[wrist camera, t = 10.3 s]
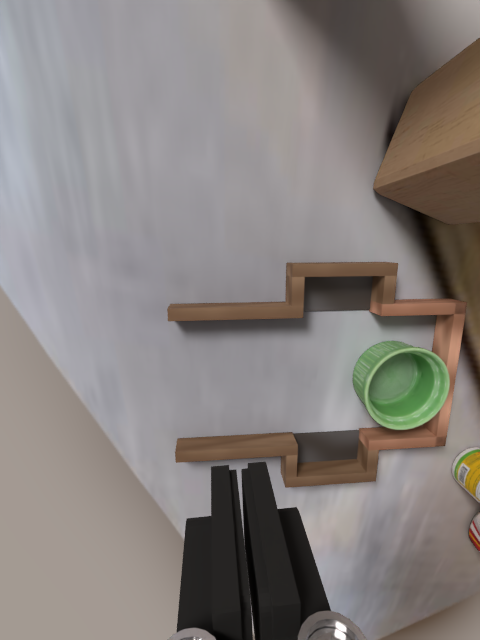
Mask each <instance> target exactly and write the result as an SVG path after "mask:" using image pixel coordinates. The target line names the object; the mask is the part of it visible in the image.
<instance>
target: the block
mask: <svg viewBox="0 0 480 640" xmlns="http://www.w3.org/2000/svg"><path fill="white" fill-rule="evenodd" d="M373 189H374V190H375V191H376V192H377V193H378V194H380V195H382V196H384V197H387V198H389V199H391V200H394V201H396V202H398V203H401V204H403V205H405V206H407V207H410V208H412V209H414V210H417V211H419V212H421V213H423V214H426V215H428V216H430V217H433V218H435V219H437V220H440V221H442V222H444V223H446V224H463V223H474V222H480V38H479V39H477V40H476V41H475V42H473V43H472V44H471V45H469V46H468V47H467V48H466V49H464V50H463V51H462V52H460V53H459V54H458V55H456V56H455V57H454V58H453V59H451V60H450V61H449V62H447V63H446V64H445V65H443V66H442V67H441V68H440V69H438V70H437V71H436V72H434V73H433V74H432V75H430V76H429V77H428V78H427V79H425V80H424V81H423V82H421V83H420V84H419V85H417V87H416V88H415V89H414V90H413V91H412V92H411V94H410V97H409V99H408V102H407V104H406V106H405V109H404V111H403V114H402V116H401V118H400V121H399V123H398V126H397V128H396V130H395V133H394V135H393V138H392V140H391V142H390V145H389V147H388V150H387V152H386V154H385V157H384V159H383V162H382V164H381V166H380V169H379V171H378V174H377V176H376V179H375V181H374V186H373Z"/></svg>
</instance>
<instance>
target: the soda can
mask: <svg viewBox="0 0 480 640" xmlns="http://www.w3.org/2000/svg"><path fill="white" fill-rule="evenodd" d="M469 537H470V540H471V541H472V543H473V544H474V546H475V547H476V548H477V550H478V551H479V552H480V511H479V512H478V513H477V514H476V515H475V516H474V518H473V520H472V522H471V525H470V529H469Z"/></svg>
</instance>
